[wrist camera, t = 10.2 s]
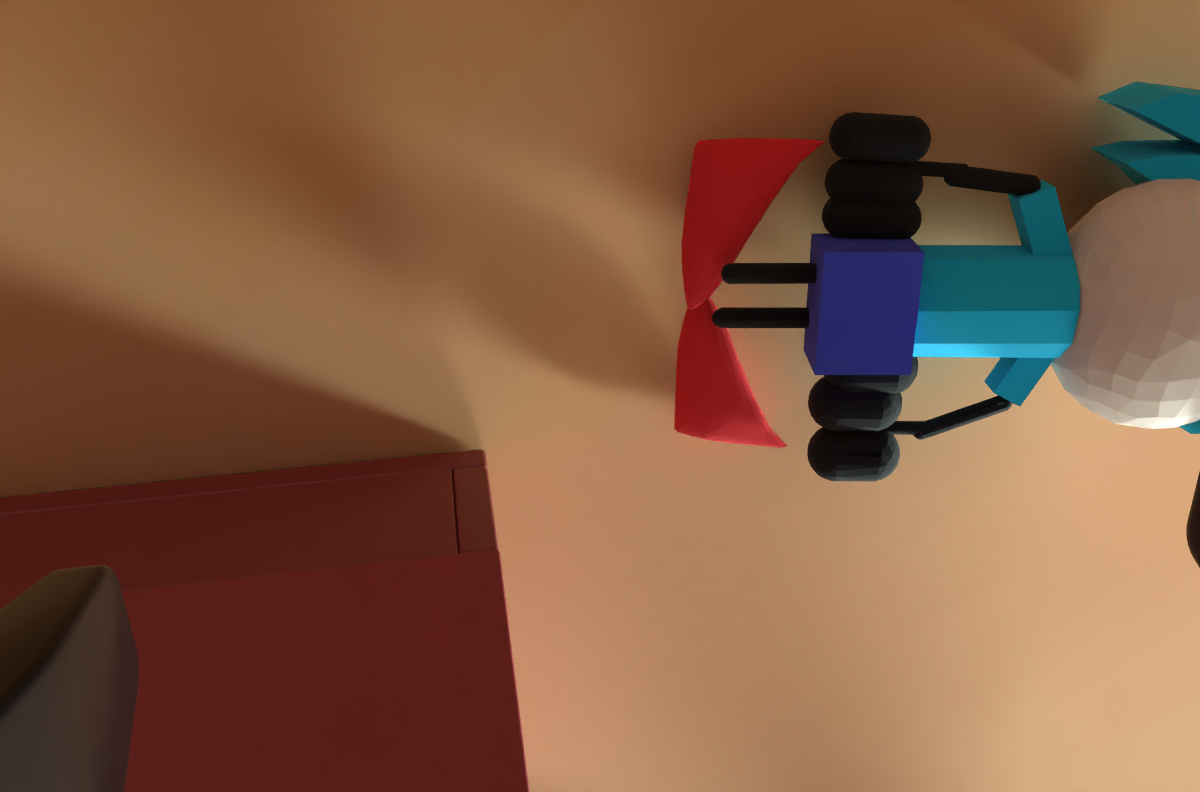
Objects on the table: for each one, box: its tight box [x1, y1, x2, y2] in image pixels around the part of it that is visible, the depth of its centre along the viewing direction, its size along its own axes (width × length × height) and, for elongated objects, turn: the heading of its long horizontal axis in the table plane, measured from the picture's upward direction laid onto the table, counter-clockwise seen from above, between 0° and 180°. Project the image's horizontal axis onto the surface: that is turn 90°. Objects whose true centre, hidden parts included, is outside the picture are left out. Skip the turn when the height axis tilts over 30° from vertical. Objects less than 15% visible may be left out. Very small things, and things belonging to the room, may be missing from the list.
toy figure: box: [674, 82, 1200, 481], centre depth 22 cm, size 8×5×15 cm
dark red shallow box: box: [0, 450, 499, 605], centre depth 23 cm, size 11×16×4 cm, turn 92°
